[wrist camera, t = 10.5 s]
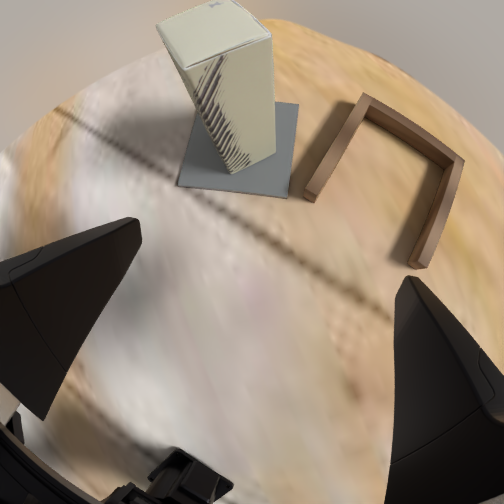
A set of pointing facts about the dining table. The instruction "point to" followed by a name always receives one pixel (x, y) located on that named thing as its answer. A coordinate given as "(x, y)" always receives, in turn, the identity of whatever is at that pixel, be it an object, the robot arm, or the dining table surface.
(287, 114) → the coaster
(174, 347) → the dining table surface
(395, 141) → the dining table surface
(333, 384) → the dining table surface
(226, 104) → the box
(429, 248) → the cradle
